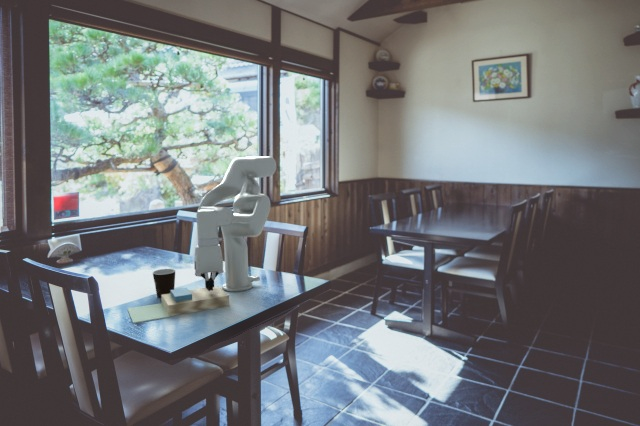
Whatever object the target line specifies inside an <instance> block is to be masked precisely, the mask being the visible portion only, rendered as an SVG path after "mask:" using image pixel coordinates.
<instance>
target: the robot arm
mask: <svg viewBox="0 0 640 426" xmlns="http://www.w3.org/2000/svg"><path fill="white" fill-rule="evenodd" d="M276 170H277V162H276V159H275V158H274V157H272V156H269V155H268V156H267V155H265V156H261V155H260V156H259V155H257V156H256V155H255V156H254V155H251V156H245V157H244V156H242V157H240V156H239V157H238V156H237V157H235V158H233V159H232V160H231V162H230V164H229V166H228V168H227V170H226V172H225V175H224V177H223V178H222V181H221V182H220V184H217V186H215V187H213V188H212V189H211V190H209V192H207V193H205V195H204V196H203V198H202V199H201V201H200V203H199V206H198V208H197V209H196V210H197V211H196V216H195V217H196V227H197V228H196V229H197V230H196V231H197V232H196V233H197V245H195V247H194V260H193V261H194V262H193V263H194V264H193V265H194V271H195V272H194V276H195V277H198V278H199V277H200V278H203V279H204V284H205V287H204V288H207V290H208V291H210V290H213V287H215V279H216V278H217V276H219V275H222V274H223V273H224V271H225V273H224V274H225V283H223V284H222V286H221V289H222V290H223V291H225V292H235V293H236V292H243V291H244V292H245V291H249V290H250V289H252V288H253V282H258V281H259V282H260V281H261V280H260V279H261V277H260V276H259V275H258V276H255V275H251V276H250V275H249V255H248V253H249V252H248V251H249V250H248V243H247V241H246V239H245V238H247V237H248V238H256V237H258V236H260V235H261V234H262V232H263V230H264V227H265V225H266V222H267V219H268V217H269V216H270V215H269V214H270V211H271V200H270V197H269V196H268V195H267V194H265V193H260V191H261V186H260V185H259V183H258V180H256V179H257V178H258V179H259V178H266V177H272V176H273V175H274V174H275V173H276ZM234 197H235V198H234ZM232 198H234V200H233V203H232V208H229V207H228V206H217V205H218V204H219V203H221V202H223V201H226V200H229V199H232ZM219 227H220V228H221V229H220V230H221V233H222V237H219ZM222 241H223V248H224V249H223V250H224V256H223V252H222V247H221V245H220V242H222ZM223 257H224V258H223ZM223 259H224V260H223ZM209 275H210V276H209Z"/></svg>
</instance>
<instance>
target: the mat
mask: <svg viewBox="0 0 640 426" xmlns="http://www.w3.org/2000/svg"><path fill="white" fill-rule="evenodd" d="M127 312H128V314H129V316H130V319H131V321H132V324H139V323H145V322H149V321H151V322H152V321H156V320H162V319H168V318H170V317H171V316H169V315H168V313H167V311H166V310H165V308H164V307H163V305H162V302H161V303H155V304H154V303H153V304H148V305H142V306H134V307H128V308H127Z"/></svg>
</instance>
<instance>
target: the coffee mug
mask: <svg viewBox="0 0 640 426" xmlns="http://www.w3.org/2000/svg"><path fill="white" fill-rule="evenodd" d="M152 276H153V282H154V287H155V293H156V296H157V298H158V299H161V295H163V294H169V293H171V292H170V290H175V284H176V270H175V269H174V268H162V269H160V268H159V269H156V270H154V271H152Z"/></svg>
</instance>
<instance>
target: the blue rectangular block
mask: <svg viewBox="0 0 640 426" xmlns="http://www.w3.org/2000/svg"><path fill="white" fill-rule="evenodd" d="M170 292H171V296H172V298H173V299H174V301H175V302H179V301H185V300H192V293H191V292H190V291H189V289H188V287H182V288H177V289H176V288H174V290H170Z"/></svg>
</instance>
